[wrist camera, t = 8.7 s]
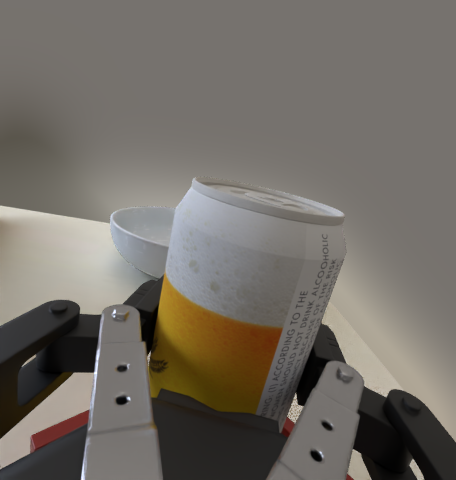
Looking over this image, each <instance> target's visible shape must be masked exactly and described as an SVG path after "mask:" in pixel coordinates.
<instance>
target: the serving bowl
mask: <svg viewBox="0 0 456 480" xmlns="http://www.w3.org/2000/svg"><path fill="white" fill-rule="evenodd" d="M175 209H176V208H169V207H153V206H140V207H129V208H124V209H120V210H118V211H115V212H114V213H113V214H112V215H111V217H110V227H111V234H112V238H113V241H114V244H115V246H116V248H117V250H118V251H119V252H120V254H121V255H122V256H123V257H124V258H125V259H126V260H127V261H128V262H129V263H130V264H131V265H132V266H134V267H135V268H137V269H139V270H140V271H142V272H144V273H146V274H149V275H151V276H154V277H157V278H161V277H162V275H163V274H164V273H165V267H166V261H167V256H168V250H169V244H170V238H171V232H172V226H173V221H174V215H175Z"/></svg>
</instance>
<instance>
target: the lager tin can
mask: <svg viewBox="0 0 456 480" xmlns="http://www.w3.org/2000/svg"><path fill="white" fill-rule="evenodd" d="M344 218H345V215H344V214H343V213H342V212H341V211H339V210H336V209H334V208H332V207H329V206H327V205H324V204H321V203H318V202H315V201H312V200H308V199H305V198H302V197H299V196H295V195H292V194H288V193H284V192H280V191H276V190H272V189H268V188H264V187H259V186H255V185H251V184H246V183H241V182H236V181H230V180H224V179H217V178H208V177H196V178H194V179H193V182H192V187H191V188H190V189H189V191H188V192H187V194H186V195H185V196H184V198H183V199H182V200H181V202H180V204H179V205H178V206H177V207H176V209H175V215H174V221H173V226H172V232H171V238H170V244H169V250H168V256H167V261H166V267H165V273H164V279H163V285H162V291H161V296H160V302H159V308H158V314H157V320H156V326H155V331H154V337H153V343H152V349H151V355H150V361H149V366H148V371H149V380H150V390H151V397H156V398H157V396H158V394H159V392H160V389H161V388H163V389H166V390H170V391H173V392H177V393H181V394H184V395H188V396H190V397H192V398H194V399H196V400H198V401H200V402H202V403H203V404H205V405H207V406H209V407H211V408H213V409H215V410H217V411H222V412H244V413H252V414H255V415H259V416H262V417H266V418H270V419H273V420H277V421H279V432H280V433H281V431H282V429H283V426H284V423H285V420H286V418H287V415H288V412H289V409H290V407H291V404H292V401H293V398H294V396H295V393H296V390H297V387H298V385H299V382H300V379H301V376H302V374H303V371H304V368H305V365H306V363H307V360H308V357H309V354H310V352H311V349H312V346H313V343H314V341H315V338H316V335H317V332H318V330H319V327H320V324H321V321H322V318H323V316H324V313H325V310H326V307H327V305H328V302H329V299H330V296H331V294H332V291H333V288H334V285H335V283H336V280H337V277H338V274H339V271H340V269H341V266H342V263H343V261H344V258H345V255H346V246H345V238H344V231H343V221H344Z"/></svg>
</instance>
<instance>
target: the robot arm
mask: <svg viewBox="0 0 456 480" xmlns="http://www.w3.org/2000/svg"><path fill="white" fill-rule="evenodd" d="M163 279H164V274H163V275H162V277H161V278H160V279H159V280H158V281H155V280H150V281H147V282H145V283H143V284H142V285H141V286H140V287H139V288H138V289H137V290H136V291H135V292H134V293H133V294H132V295H131V296H130V297H129V298H128V299H127V300H126V301H125V302H124V303H123V304H119V305H112V306H109V307H107V308H106V309H104V310H103V312H102V315H88V314H80V307H79V305H78V304H77V303H75V302H73V301H69V300H54V301H50V302H47V303H44V304H42V305H40V306H38V307H36V308H34V309H32V310H31V311H29V312H27V313H25V314H23V315H21V316H19V317H17V318H15V319H13V320H11V321H9V322H7V323H5V324H3V325H1V326H0V439H1V438H2V437H3V436H4V435H5V434H6V433H7V432H9V431H10V430H11V429H12V428H13V427H14V426H15V425H16V424H18V423H19V422H20V421H21V420H22V419H23V418H24V417H25V416H26V415H28V414H29V413H30V412H31V411H32V410H33V409H34V408H35V407H37V406H38V405H39V404H40V403H41V402H42V401H43V400H44V399H46V398H47V397H48V396H49V395H50V394H51V393H52V392H53V391H55V390H56V389H57V388H58V387H59V386H60V385H61V384H62V383H64V382H65V381H66V380H67V379H68V378H69V377H70V376H71V375H72V374H73V373H74V372H86V373H94V379H93V387H92V395H91V404H90V412H89V420H88V423H86V424H84V425H83V426H81V427H79V428H77V429H75V430H73V431H71V432H70V433H68V434H66V435H64V436H62V437H60V438H58V439H56V440H55V441H53V442H51V443H49V444H47V445H45V446H43V447H42V448H40V449H38V450H36V451H34V452H32V453H30V454H28V455H27V456H25V457H23V458H21V459H19V460H17V461H15V462H14V463H12V464H10V465H8V466H6V467H4V468H2V469H0V480H346V477H347V472H348V468H349V463H350V459H351V454H352V450H353V449H354V450H356V451H358V452H360V453H361V456H362V459H363V461H364V464H365V466H366V468H367V470H368V473H369V475H370V477H371V479H372V480H417V478H416V476H415V475H414V473H413V471H412V469H411V468H410V466H409V464H410V463H411V461H412V459H414V460H415V462H416V464H417V465H418V467H419V469H420V470H421V472H422V474H423V476H424V480H456V442H455V441H454V440H453V438H452V437H451V436H450V435H449V434H448V432H447V431H446V430H445V428H444V427H443V426H442V425H441V423H440V422H439V421H438V420H437V418H436V417H435V416H434V415H433V414H432V412H431V411H430V410H429V409H428V407H427V406H426V405H425V404H424V403H423V402H421V401H420V400H419V399H418V398H416V397H414V396H413V395H411V394H409V393H407V392H405V391H402V390H397V389H393V390H391V391H390V392H389V393H388V395H387V397H384V396H382V395H380V394H378V393H376V392H374V391H372V390H370V389H368V388H366V387H365V386H364V380H363V378H362V376H361V375H360V374H359V373H358V372H357V371H356V370H355V369H354V368H352V367H351V366H349V365H347V364H346V361H345V359H344V357H343V354H342V352H341V349H340V348H339V345H338V342H337V340H336V337H335V335H334V333H333V332H332V331H331V330H330V329H329V327H328V326H327V325H323V324H322V323H321V324H320V327H319V330H318V332H317V335H316V338H315V341H314V343H313V346H312V349H311V352H310V354H309V357H308V360H307V363H306V365H305V368H304V371H303V374H302V376H301V379H300V382H299V385H298V387H297V390H296V394H297V401H298V405H301V406H304V407H303V409H302V411H301V413H300V415H299V417H298V419H297V421H296V423H295V425H294V427H293V429H292V431H291V433H290V435H289V437H286V436H285V435H283V434H281V433H280V432H279V421H277V420H273V419H270V418H266V417H262V416H259V415H255V414H252V413H244V412H222V411H217V410H215V409H213V408H211V407H209V406H207V405H205V404H203V403H202V402H200V401H198V400H196V399H194V398H192V397H190V396H188V395H184V394H181V393H177V392H173V391H170V390H166V389H163V388H161V389H160V392H159V394H158V396H157V398H156V397H151V390H150V380H149V371H148V361H147V356H148V354H149V353H150V351H151V349H152V343H153V337H154V331H155V326H156V320H157V314H158V308H159V302H160V296H161V291H162V285H163ZM35 354H36V358H34V359H33V360H31V361H30V362H29V363H27V364H26V365H24V366H23V367H22V365H23V364H24V363H25V362H26V361H27V360H28V359H30V358H31V357H32V356H34V355H35Z"/></svg>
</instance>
